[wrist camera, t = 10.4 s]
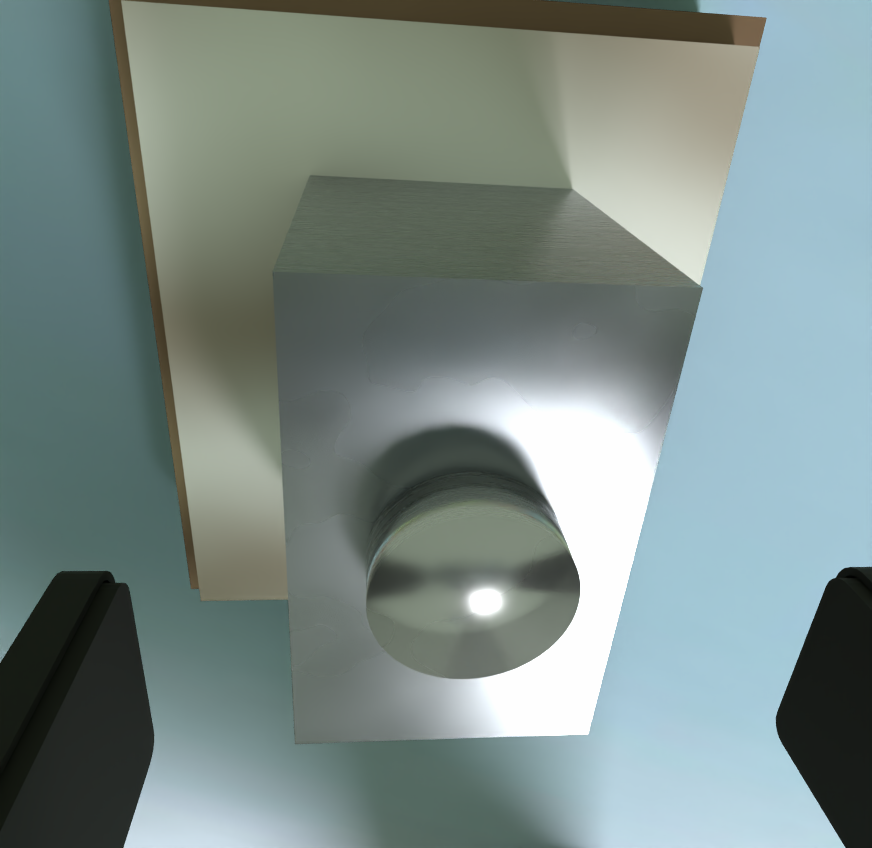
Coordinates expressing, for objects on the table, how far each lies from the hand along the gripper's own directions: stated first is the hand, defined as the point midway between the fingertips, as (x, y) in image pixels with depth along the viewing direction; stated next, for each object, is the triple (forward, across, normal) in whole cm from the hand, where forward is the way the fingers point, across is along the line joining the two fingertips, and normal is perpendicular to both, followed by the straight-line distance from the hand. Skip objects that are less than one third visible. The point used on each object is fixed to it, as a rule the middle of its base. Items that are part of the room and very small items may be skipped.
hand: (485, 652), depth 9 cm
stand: (+11, 0, -1) cm, 11 cm away
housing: (+7, 0, -1) cm, 7 cm away
